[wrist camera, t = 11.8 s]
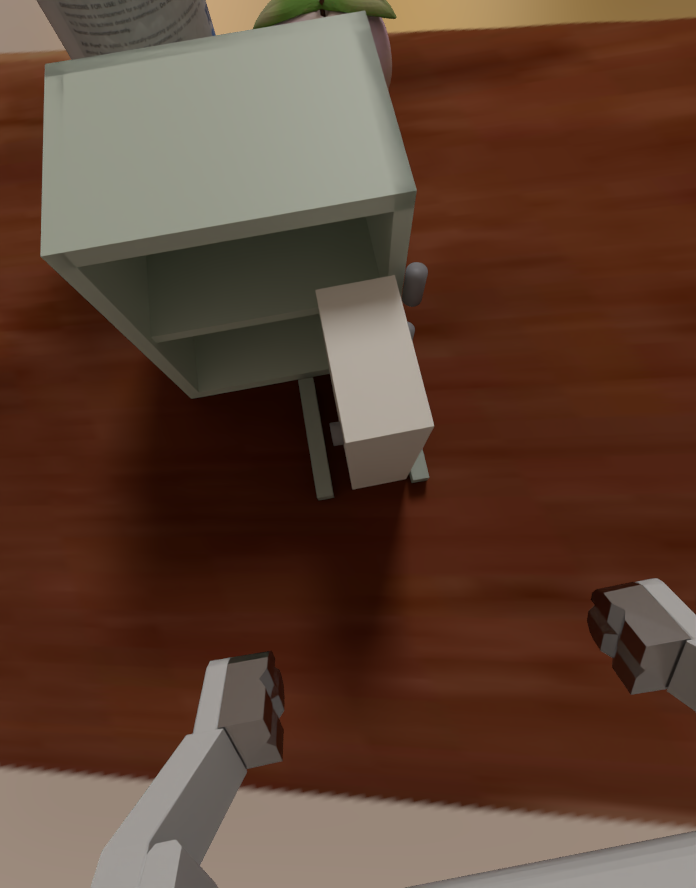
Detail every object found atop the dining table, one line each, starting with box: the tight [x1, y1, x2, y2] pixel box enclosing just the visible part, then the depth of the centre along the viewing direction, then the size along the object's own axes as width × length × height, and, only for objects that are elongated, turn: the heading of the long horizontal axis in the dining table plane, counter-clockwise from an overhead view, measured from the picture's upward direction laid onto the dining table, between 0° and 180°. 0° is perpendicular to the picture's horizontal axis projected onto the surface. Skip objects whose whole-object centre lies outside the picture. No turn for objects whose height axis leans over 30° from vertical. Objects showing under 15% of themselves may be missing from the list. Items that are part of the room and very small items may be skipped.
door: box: [315, 275, 434, 490], centre depth 22 cm, size 7×4×11 cm, turn 11°
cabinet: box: [41, 11, 429, 500], centre depth 22 cm, size 18×15×14 cm
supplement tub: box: [37, 0, 216, 60], centre depth 28 cm, size 10×10×15 cm
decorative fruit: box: [253, 0, 396, 88], centre depth 30 cm, size 9×8×10 cm
